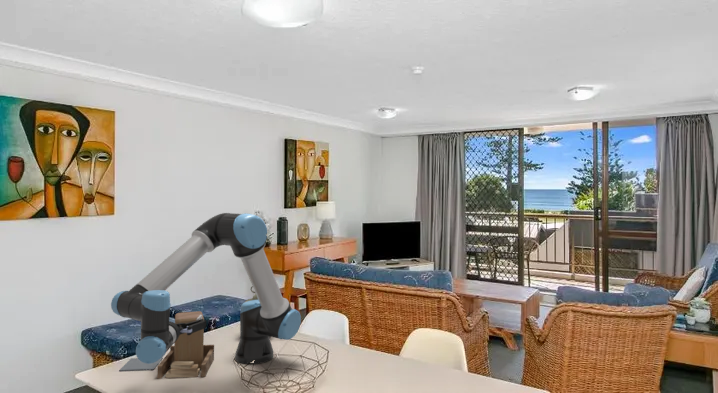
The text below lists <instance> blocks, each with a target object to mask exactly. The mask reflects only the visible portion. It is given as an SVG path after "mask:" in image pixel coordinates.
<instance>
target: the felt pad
mask: <svg viewBox="0 0 718 393" xmlns="http://www.w3.org/2000/svg"><path fill="white" fill-rule="evenodd" d="M163 359H164V357H162V358H161V359H159V360H158V361H157V362H155V363H151V364H146V363H143V362H141V361H140V360H139V359H138V358H137V357H136V358H130V359H129V360H128V361H127V362H126V363H125V364H124V365H123V366H122V367H121V368H119V372H133V371H134V372H136V371H137V372H139V371H140V372H141V371H154V370H156V369H157V368H158V365H159V364H160V363H161V361H162V360H163Z"/></svg>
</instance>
